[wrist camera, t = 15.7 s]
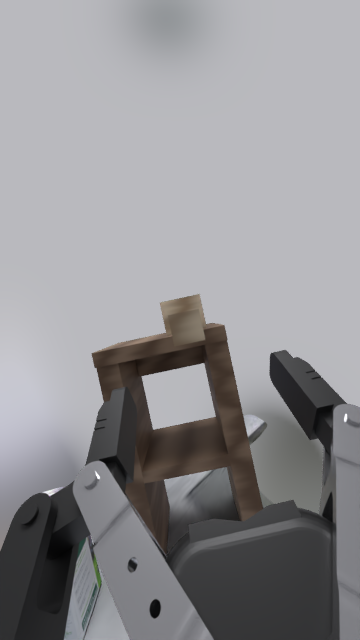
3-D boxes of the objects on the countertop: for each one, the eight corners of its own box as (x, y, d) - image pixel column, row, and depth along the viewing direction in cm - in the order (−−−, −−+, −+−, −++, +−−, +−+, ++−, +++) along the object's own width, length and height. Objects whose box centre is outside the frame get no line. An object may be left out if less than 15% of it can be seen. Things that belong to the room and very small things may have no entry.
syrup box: (83, 643, 25) (56, 520, 25) (33, 653, 25) (6, 530, 25) (102, 582, 30) (80, 482, 30) (62, 590, 31) (39, 490, 30)
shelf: (142, 586, 29) (91, 353, 29) (154, 507, 41) (118, 343, 41) (274, 560, 29) (224, 325, 28) (247, 489, 41) (212, 322, 40)
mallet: (152, 351, 17) (139, 289, 17) (169, 333, 37) (163, 304, 37) (227, 335, 17) (213, 272, 17) (203, 325, 37) (197, 297, 37)
